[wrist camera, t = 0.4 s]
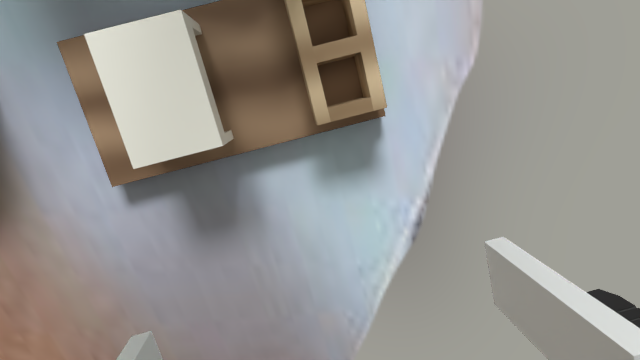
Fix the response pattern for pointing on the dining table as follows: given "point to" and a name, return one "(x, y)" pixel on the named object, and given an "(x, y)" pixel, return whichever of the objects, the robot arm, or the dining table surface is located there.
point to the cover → (158, 87)
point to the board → (256, 77)
